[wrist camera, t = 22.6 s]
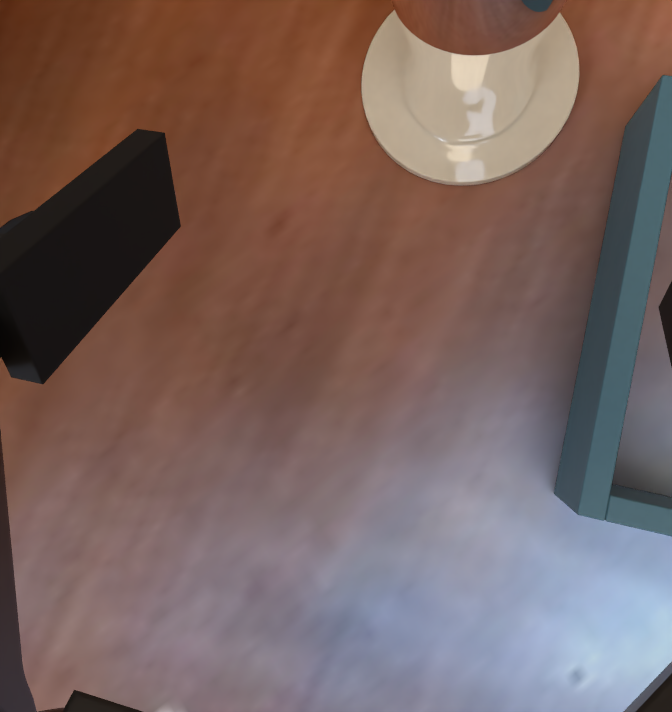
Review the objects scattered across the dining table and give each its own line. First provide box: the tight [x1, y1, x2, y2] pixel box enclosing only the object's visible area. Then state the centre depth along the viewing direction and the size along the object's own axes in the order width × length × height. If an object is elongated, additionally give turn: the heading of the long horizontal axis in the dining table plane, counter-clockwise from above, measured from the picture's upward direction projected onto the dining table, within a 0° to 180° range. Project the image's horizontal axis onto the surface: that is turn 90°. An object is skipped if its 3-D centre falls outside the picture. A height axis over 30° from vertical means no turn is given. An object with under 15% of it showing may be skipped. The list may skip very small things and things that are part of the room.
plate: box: [361, 10, 579, 186], centre depth 28 cm, size 10×10×1 cm
